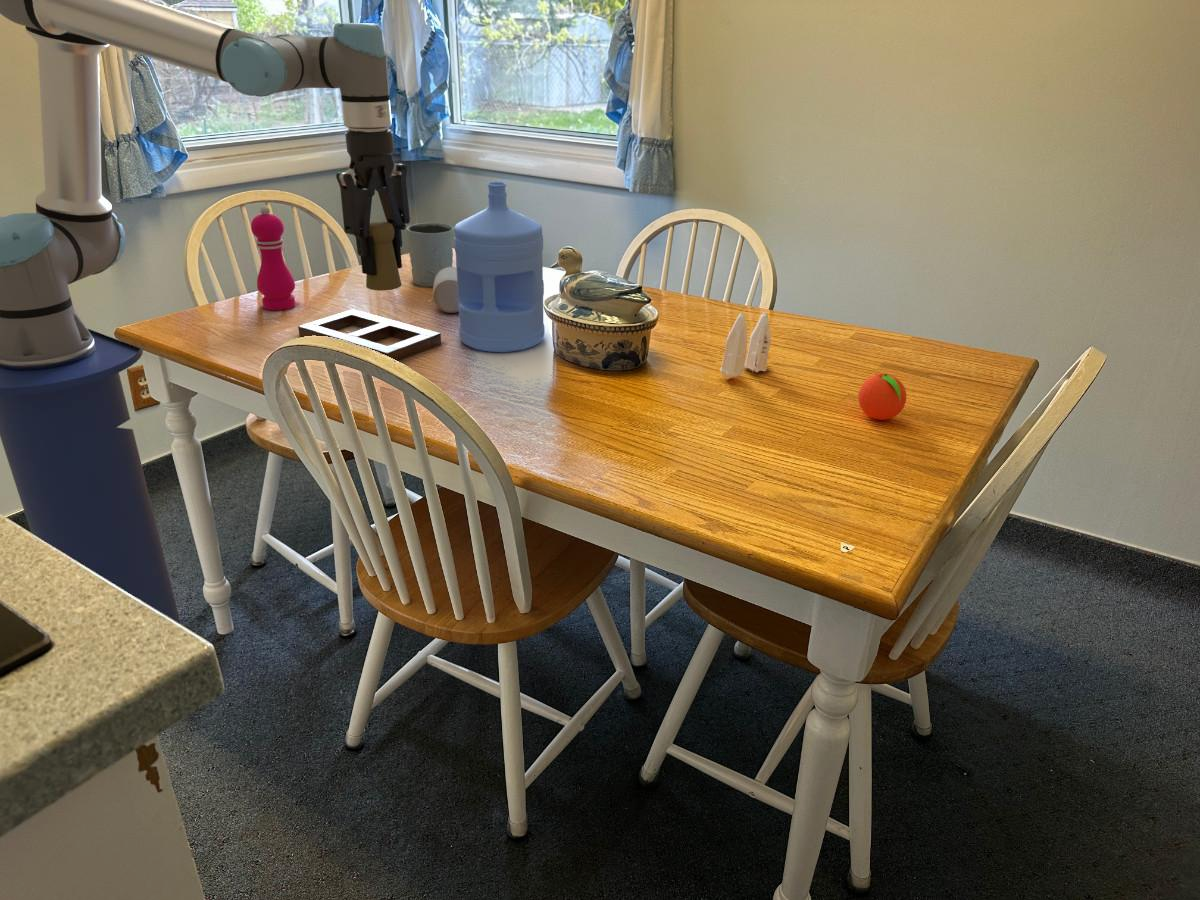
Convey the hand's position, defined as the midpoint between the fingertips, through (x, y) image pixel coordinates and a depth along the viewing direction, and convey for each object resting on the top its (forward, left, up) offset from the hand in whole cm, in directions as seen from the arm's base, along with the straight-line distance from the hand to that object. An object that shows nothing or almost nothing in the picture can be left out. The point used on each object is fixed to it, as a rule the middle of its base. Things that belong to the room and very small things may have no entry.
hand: (382, 270), depth 152 cm
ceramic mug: (-5, +24, -14) cm, 28 cm away
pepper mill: (-35, +3, -14) cm, 38 cm away
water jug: (+14, +15, -14) cm, 25 cm away
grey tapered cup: (-23, +35, -14) cm, 44 cm away
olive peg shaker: (0, 0, -3) cm, 3 cm away
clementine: (+83, +22, -14) cm, 87 cm away
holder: (-5, 0, -14) cm, 15 cm away
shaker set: (+58, +26, -14) cm, 65 cm away
